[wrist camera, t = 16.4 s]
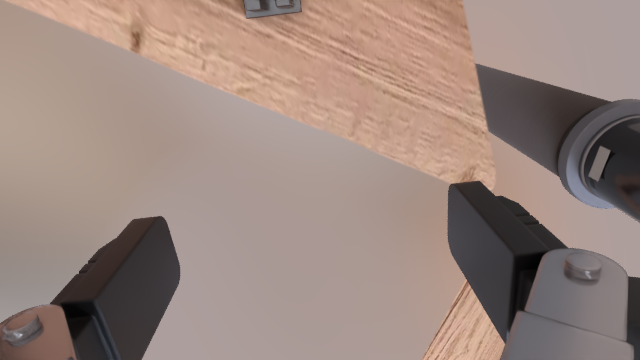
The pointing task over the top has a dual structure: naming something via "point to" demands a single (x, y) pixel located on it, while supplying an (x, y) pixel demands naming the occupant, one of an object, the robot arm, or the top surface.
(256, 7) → the holder
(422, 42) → the top surface
